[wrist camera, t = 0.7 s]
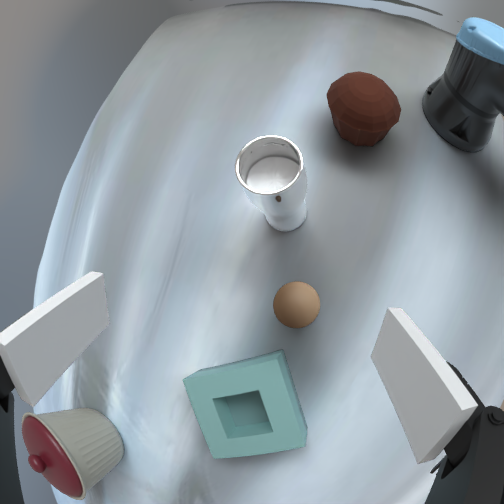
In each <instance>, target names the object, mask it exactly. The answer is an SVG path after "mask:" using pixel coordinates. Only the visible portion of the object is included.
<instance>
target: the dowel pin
mask: <svg viewBox="0 0 504 504" xmlns="http://www.w3.org/2000/svg"><path fill="white" fill-rule="evenodd" d="M273 308H274V313H275V315H276V317H277V318H278V320H279V321H280V322H281V323H282V324H284V325H285V326H288V327H291V328H302V327H305V326H307V325H309V324H310V323H312V322H313V321H314V320H315V318H316V317H317V315H318V313H319V310H320V300H319V296H318V294H317V292H316V291H315V289H314V288H313V287H311V286H310V285H308V284H306V283H304V282H290V283H288V284H286V285H284V286H282V287H281V288H280V289H279V290H278V292H277V293H276V295H275V298H274V302H273Z"/></svg>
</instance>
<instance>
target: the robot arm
mask: <svg viewBox="0 0 504 504" xmlns="http://www.w3.org/2000/svg"><path fill="white" fill-rule="evenodd" d="M456 37H457V40H456V42H455V45H454V48H453V51H452V54H451V56H450V59H449V61H448V64H447V66H446V69H445V72H444V74H443V75H442V76H440V77H439V78H438V79H437V80H436V81H434V82H433V83H432V84H431V85H430V86H429V87H428V88H427V90H426V92H425V94H424V97H423V102H422V104H423V110H424V113H425V115H426V117H427V119H428V121H429V122H430V124H431V125H432V127H433V128H434V129H435V130H436V131H437V133H438V134H439V135H440V136H441V137H443V138H444V139H445V140H446V141H447V142H449V143H450V144H452V145H453V146H455V147H457V148H459V149H462V150H464V151H469V152H476V151H479V150H481V149H483V148H484V146H485V145H486V144H487V143H488V142H489V140H490V138H491V134H492V131H493V127H494V123H495V119H496V117H497V115H498V114H499V113H501V114H502V115H503V116H504V29H503V28H501V27H500V26H498V25H496V24H494V23H492V22H489V21H487V20H484V19H481V18H468V19H466V20H465V21H464V22H463V25H462V27H461V30H460V32H459V33H458V34H457V36H456ZM109 324H110V320H109V314H108V307H107V299H106V291H105V281H104V274H103V273H97V272H92V271H91V272H90V273H88V274H87V275H85V276H83V277H82V278H80V279H78V280H77V281H75V282H74V283H72V284H71V285H69V286H67V287H66V288H64V289H63V290H61V291H60V292H58V293H57V294H55V295H54V296H52V297H51V298H49V299H48V300H46V301H45V302H43V303H42V304H40V305H39V306H37V307H36V308H34V309H33V310H31V311H30V312H29V313H27V314H25V315H23V316H22V317H21V318H19V319H18V320H17V321H15V322H14V323H12V325H9V326H8V327H7V328H5V329H4V330H3V331H1V332H0V504H24V500H23V495H22V491H21V485H20V480H19V474H18V467H17V459H16V449H15V437H14V396H13V394H12V392H11V391H12V390H13V389H14V388H16V390H17V392H18V394H19V396H20V398H21V399H22V400H23V401H25V402H27V403H28V404H29V405H31V406H33V407H34V406H35V405H36V404H37V403H38V402H39V400H40V399H41V398H42V397H43V396H44V395H45V393H46V392H47V391H48V390H49V389H50V388H51V387H52V385H53V384H54V383H55V382H56V381H57V380H58V379H59V378H60V376H61V375H62V374H63V373H64V372H65V371H66V370H67V369H68V368H69V367H70V365H71V364H72V363H73V362H74V361H75V360H76V359H77V358H78V357H79V356H80V355H81V354H82V352H83V351H84V350H85V349H86V348H87V347H88V346H89V345H90V344H91V343H92V342H93V341H94V340H95V339H96V338H97V337H98V336H99V335H100V334H101V333H102V332H103V331H104V329H105V328H106V327H107V326H108V325H109ZM371 358H372V361H373V363H374V365H375V367H376V369H377V371H378V373H379V375H380V377H381V379H382V381H383V384H384V386H385V388H386V390H387V392H388V394H389V397H390V399H391V401H392V403H393V406H394V408H395V410H396V412H397V415H398V417H399V419H400V422H401V424H402V426H403V429H404V431H405V433H406V436H407V438H408V441H409V443H410V446H411V448H412V451H413V453H414V456H415V458H416V461H417V464H420V463H423V462H427V461H430V460H433V459H435V458H436V457H437V456H438V455H439V454H440V453H441V451H442V450H443V449H444V450H445V452H446V454H447V455H446V456H445V457H444V458H443V459H442V460H441V461H440V462H439V463H438V464H437V465H436V466H435V467H434V468H433V469H432V471H431V472H430V473H434V472H435V471H436V470H437V469H438V468H439V470H438V473H437V474H436V478H435V480H434V483H433V485H432V488H431V490H430V493H429V495H428V497H427V499H426V502H425V504H504V411H502V410H501V409H500V408H498V407H495V406H488V407H485V406H484V405H483V403H482V402H481V400H480V399H479V398H478V396H477V395H476V393H475V392H474V391H473V389H472V388H471V387H470V385H469V384H468V385H467V381H466V380H465V379H464V378H462V375H461V374H460V372H459V371H458V370H457V368H455V367H454V366H453V365H451V364H450V363H449V362H447V361H445V360H444V358H443V357H442V356H441V355H440V353H439V352H438V351H437V350H436V348H435V347H434V346H433V345H432V344H431V342H430V341H429V340H428V339H427V337H426V336H425V335H424V334H423V333H422V331H421V330H420V329H419V328H418V327H417V326H416V324H415V323H414V322H413V321H412V320H411V319H410V317H409V316H408V315H407V314H406V313H405V312H404V311H403V309H402V308H387V311H386V314H385V317H384V320H383V324H382V327H381V329H380V332H379V335H378V338H377V341H376V344H375V346H374V349H373V352H372V354H371Z"/></svg>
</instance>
